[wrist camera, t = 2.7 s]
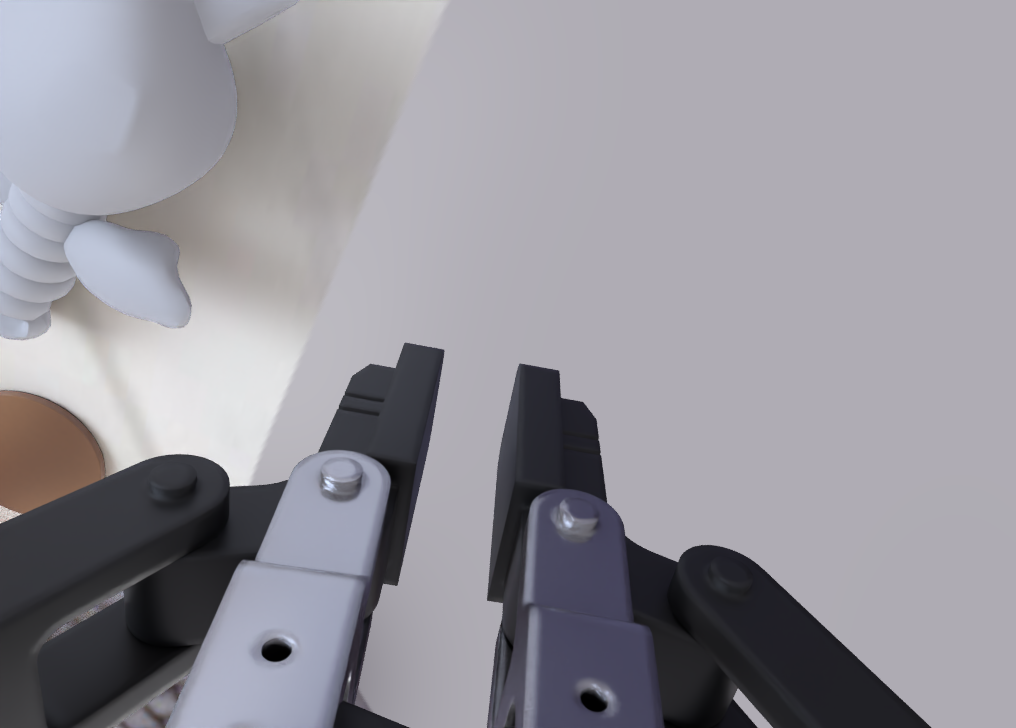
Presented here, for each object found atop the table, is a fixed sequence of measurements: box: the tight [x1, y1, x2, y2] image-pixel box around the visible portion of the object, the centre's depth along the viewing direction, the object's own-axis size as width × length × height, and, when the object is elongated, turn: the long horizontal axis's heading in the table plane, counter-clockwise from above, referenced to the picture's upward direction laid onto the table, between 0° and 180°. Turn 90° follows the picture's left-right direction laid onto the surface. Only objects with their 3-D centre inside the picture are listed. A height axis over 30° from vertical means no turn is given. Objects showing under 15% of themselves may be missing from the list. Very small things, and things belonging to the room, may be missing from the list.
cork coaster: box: [0, 391, 105, 514], centre depth 36 cm, size 7×7×1 cm
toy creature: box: [0, 0, 299, 340], centre depth 25 cm, size 13×7×20 cm
